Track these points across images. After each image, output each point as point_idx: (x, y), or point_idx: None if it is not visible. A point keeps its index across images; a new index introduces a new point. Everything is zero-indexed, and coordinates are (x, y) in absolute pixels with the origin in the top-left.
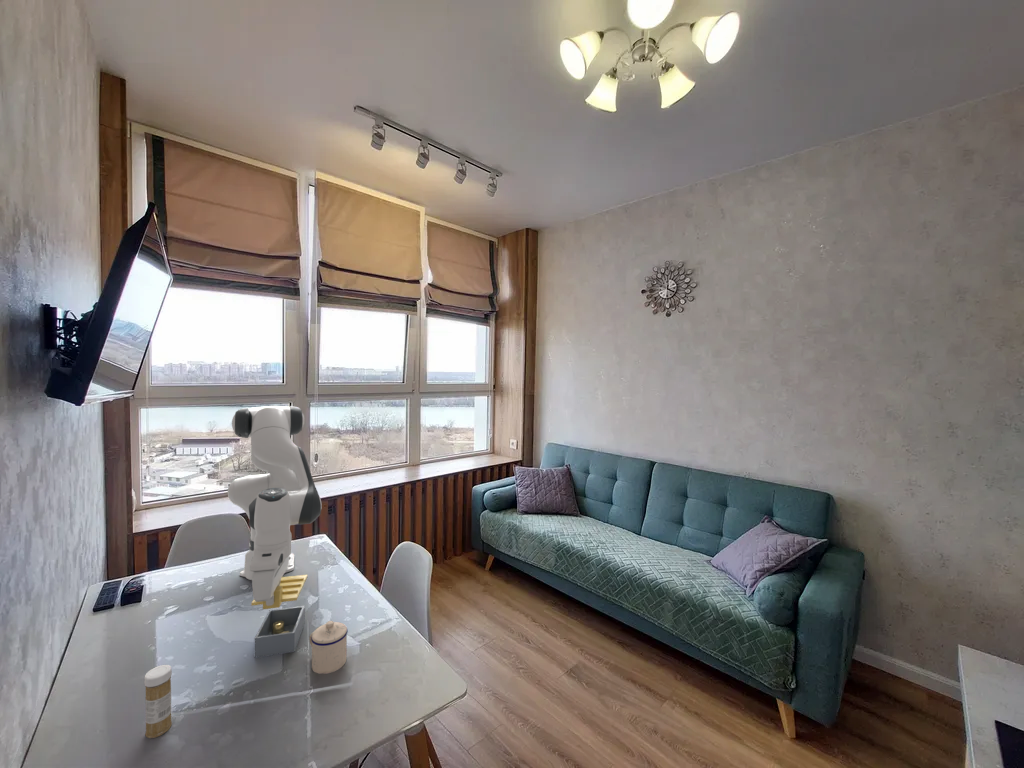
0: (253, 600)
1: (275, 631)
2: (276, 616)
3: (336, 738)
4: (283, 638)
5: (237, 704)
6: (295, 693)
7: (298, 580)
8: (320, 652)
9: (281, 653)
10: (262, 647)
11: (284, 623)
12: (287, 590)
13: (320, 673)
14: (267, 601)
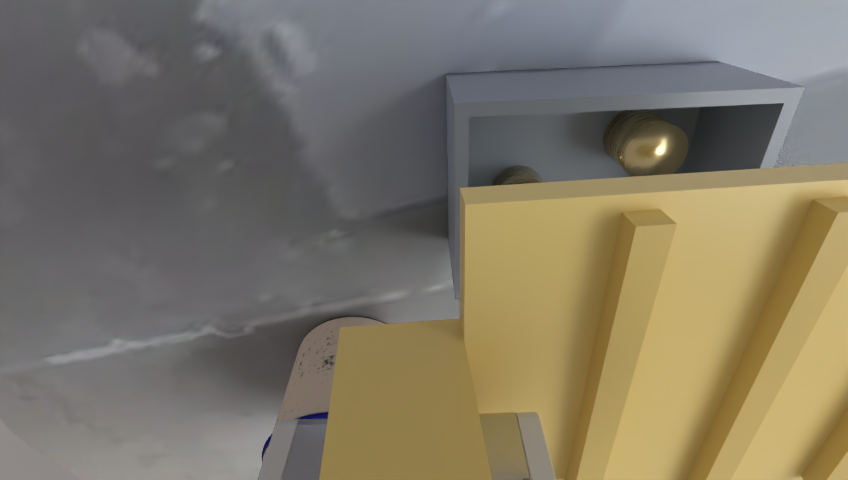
0: (528, 206)
1: (617, 137)
2: (740, 126)
3: (58, 413)
4: (453, 240)
5: (143, 107)
6: (215, 293)
7: (820, 452)
8: (277, 417)
9: (448, 196)
10: (449, 129)
11: (698, 153)
12: (601, 462)
13: (298, 350)
14: (266, 468)
